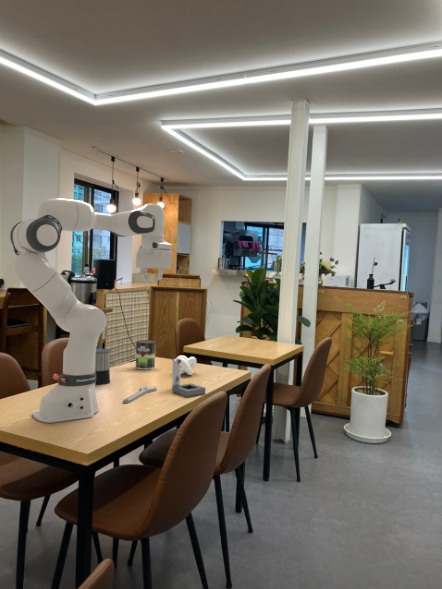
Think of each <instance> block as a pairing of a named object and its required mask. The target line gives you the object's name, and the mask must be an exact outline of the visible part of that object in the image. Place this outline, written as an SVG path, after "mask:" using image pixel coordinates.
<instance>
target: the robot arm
mask: <svg viewBox="0 0 442 589" xmlns="http://www.w3.org/2000/svg"><path fill="white" fill-rule="evenodd" d="M165 224H166V216H165V211H164V207H162V206H161V205H159V204H156V203H151V202H149V203H145V204H144V205H143V206H141V207H139V208H136V209H135V208H134V209H132V210H131V209H130V210H126V211H117V212H114V213H111V214H109V213H101V212H96V211H95V209H94V207H93V206H92V204H90V203H87V202H85V201H83V200H78V199H72V198H71V199H70V198H47V199H46V198H45V199H43V200H42V201H41V202H40V204H39V205H38V208H37V216H36V217H35V218H30V219H26V220H22V221H19V222H18V223H17V222H16V224H14V226H13V227H12V228H11V230H10V233H9V234H10V235H9V237H10V238H9V239H10V242H11V245H12V246H13V251H14V253H15V255H16V257H15V258H14V260H13V262H12V270H13V272H14V274H15V275H16V277H17V278H18V280H19V281H20V282H21V283H22V285H23V286H24V287H25V288H26V289H27V290H28V291H29V292H30V293H31V294H32V295H33V296H34V297H35V298H36V299H37V300H38V301H39V302H40V303H41V304H42V305H43V306H44V307H45V309H46V310H47V311H48V312H49V314H50V316H51V317H52V318H53V320H54V321H55V323H56V325H57V326H58V327H59V328H60V329H62V330H63V331H65V332H67V333H69V338H68V342H67V345H66V347H65V348H64V350H63V354H62V356H63V357H62V361H63V362H62V363H63V364H62V372H61V373H60V375H59V374H57V373H54V374H53V375H52V379H53V380H55V381H57V384H56V385H55V386H53V387H52V388H51V389H50V390H48V391H47V392H46V393H45V394H44V395H42V397H41V399H40V403H39V408H38V409H36V410H33V412H32V417H33V418H34V419H35V420H38V421H39V422H43V423H49V424H50V423H52V424H53V423H59V422H66V421H74V420H79V419H86V418H93V417H94V416H95V414H96V413H98V412H99V410H100V408H99V405H98V400H97V399H98V398H97V393H96V392H97V391H96V386H97V384H96V372H95V353H96V349H97V347H98V343H99V339H100V336H101V334H102V332H103V331H105V329H106V327H107V321H108V320H107V316H106V314H105V312H104V311H103V310H102V309H100V308H98V307H97V306H95V305H91V304H87V303H86V304H85V303H83V302H81V301H80V300H79V299H78V298H77V297H76V295H75V294H74V292H73V290H72V286H71V284H70V283H69V282H68V281H67V280H66V279H65V278H64V277H63V276H62V275H61V273H60V272H59V271H58V270H57V269H56V268H55V267H54V266H53V265H52V264H51V263H50V261H49V260H48V258H47V257H46V253H49V252H50V251H53V250H55V248H57V247H58V245H59V243H60V241H61V237H62V236H61V235H62V234H61V233H62V231H65V232H73V233H74V232H77V233H78V232H79V233H80V232H81V233H82V232H89V231H91V230H100V231H106V232H110V233H112V234H113V235H114V236H117V237H119V238H124V237H129V236H130V237H131V236H139V235H142V236H141V237H142V238H141V240H142V241H141V245H140V246H139V248H138V249H137V252H136V255H135V256H136V257H135V267H136V268H137V269H138V268H139V269H141V274H142V279H143V280H149V278H150V277H149V275H150V274H148V269H157V271H158V273H157V274H156V280H157V281H162V280H163V275H164V273H165V269H171V267H172V259H173V258H172V254H173V253H172V249H173V245H172V244H171V243H169V242H168V241H166V240H165V234H164V231H165V226H166V225H165Z"/></svg>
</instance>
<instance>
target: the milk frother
mask: <svg viewBox="0 0 442 589" xmlns="http://www.w3.org/2000/svg"><path fill="white" fill-rule="evenodd" d="M110 363H111V349H108V348H96V353H95V372H96V386H98V385H99V386H100V385H107V384H109V383H111V376H110V375H111V373H110V372H111V369H110V368H111V366H110V365H111V364H110Z"/></svg>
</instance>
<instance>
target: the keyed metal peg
mask: <svg viewBox="0 0 442 589" xmlns="http://www.w3.org/2000/svg"><path fill="white" fill-rule="evenodd" d="M171 362H172V369H171V370H172V374H171V375H172V376H171V379H172V380H171V389H172V388H173V386H179V385H181V375H180V368H181V359H176V358H175V357H174V358H172V361H171Z"/></svg>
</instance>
